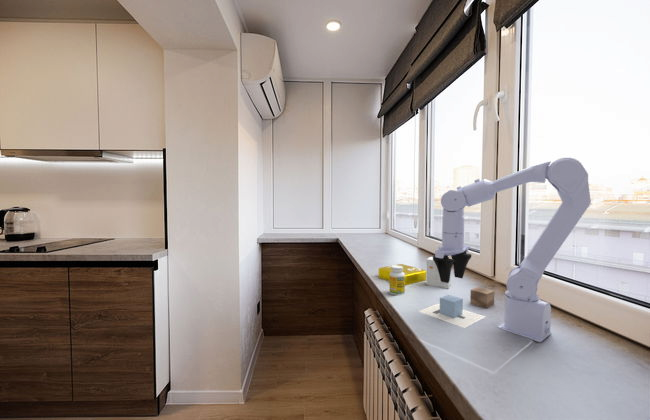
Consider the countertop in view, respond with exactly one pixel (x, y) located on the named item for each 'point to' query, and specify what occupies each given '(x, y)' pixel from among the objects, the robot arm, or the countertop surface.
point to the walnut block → (482, 297)
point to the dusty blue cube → (451, 306)
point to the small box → (435, 275)
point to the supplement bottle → (397, 281)
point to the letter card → (462, 320)
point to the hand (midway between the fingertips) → (451, 279)
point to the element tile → (410, 273)
